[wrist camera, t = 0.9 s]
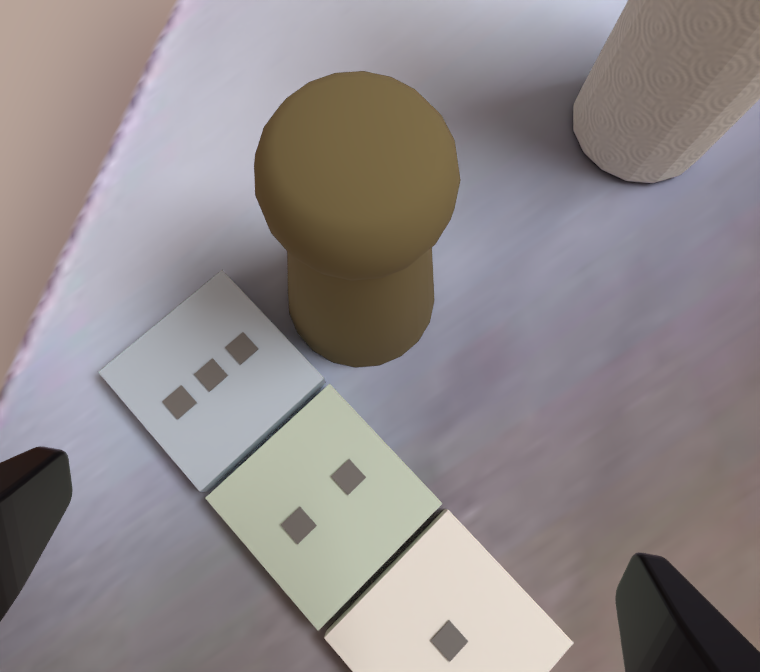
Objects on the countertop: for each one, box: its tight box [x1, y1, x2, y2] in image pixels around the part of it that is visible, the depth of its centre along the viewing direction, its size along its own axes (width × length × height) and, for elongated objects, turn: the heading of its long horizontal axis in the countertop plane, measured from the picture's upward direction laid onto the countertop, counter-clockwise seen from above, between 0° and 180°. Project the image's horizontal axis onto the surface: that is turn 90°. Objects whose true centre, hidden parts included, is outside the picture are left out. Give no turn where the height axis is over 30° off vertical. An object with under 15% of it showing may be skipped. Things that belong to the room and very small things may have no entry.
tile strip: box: [99, 270, 573, 672], centre depth 21 cm, size 6×19×1 cm, turn 44°
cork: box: [254, 71, 460, 367], centre depth 18 cm, size 6×6×11 cm
